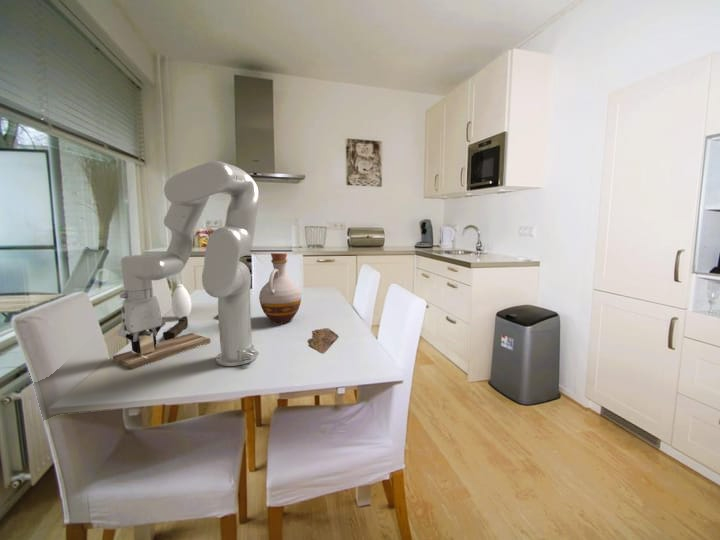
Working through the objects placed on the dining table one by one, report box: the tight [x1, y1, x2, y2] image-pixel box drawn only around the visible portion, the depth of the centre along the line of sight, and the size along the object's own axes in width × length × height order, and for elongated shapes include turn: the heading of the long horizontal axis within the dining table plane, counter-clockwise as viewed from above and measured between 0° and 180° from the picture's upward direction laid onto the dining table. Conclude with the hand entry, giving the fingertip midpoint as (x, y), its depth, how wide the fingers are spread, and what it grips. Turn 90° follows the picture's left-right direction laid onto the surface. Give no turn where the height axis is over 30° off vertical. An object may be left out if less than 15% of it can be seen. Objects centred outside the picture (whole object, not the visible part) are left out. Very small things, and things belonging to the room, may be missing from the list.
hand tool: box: [162, 316, 189, 341], centre depth 135 cm, size 19×4×5 cm, turn 5°
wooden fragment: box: [307, 327, 340, 355], centre depth 126 cm, size 26×11×1 cm, turn 0°
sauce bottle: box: [171, 278, 192, 319], centre depth 152 cm, size 8×8×18 cm
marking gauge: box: [137, 330, 154, 355], centre depth 110 cm, size 8×4×7 cm, turn 57°
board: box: [112, 332, 211, 370], centre depth 116 cm, size 12×26×2 cm, turn 148°
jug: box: [258, 252, 302, 325], centre depth 146 cm, size 20×18×30 cm
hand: (144, 349), depth 110 cm, fingers closed on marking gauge, 4 cm apart
